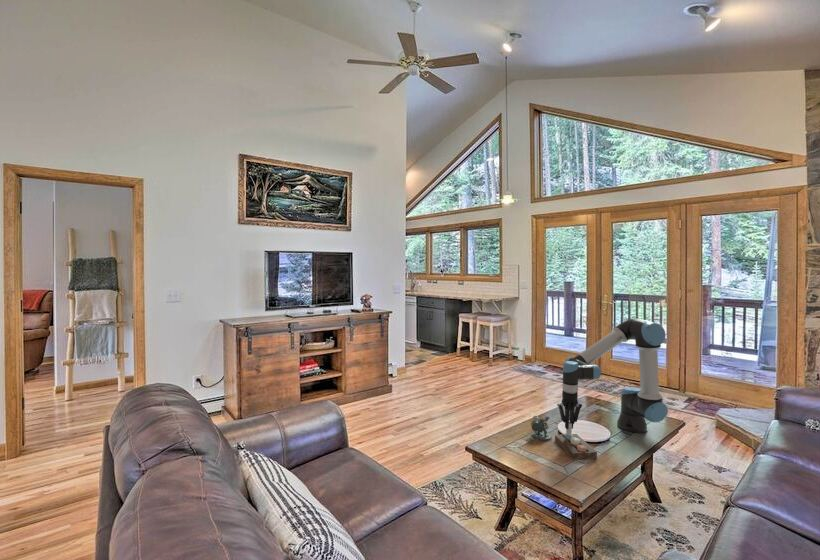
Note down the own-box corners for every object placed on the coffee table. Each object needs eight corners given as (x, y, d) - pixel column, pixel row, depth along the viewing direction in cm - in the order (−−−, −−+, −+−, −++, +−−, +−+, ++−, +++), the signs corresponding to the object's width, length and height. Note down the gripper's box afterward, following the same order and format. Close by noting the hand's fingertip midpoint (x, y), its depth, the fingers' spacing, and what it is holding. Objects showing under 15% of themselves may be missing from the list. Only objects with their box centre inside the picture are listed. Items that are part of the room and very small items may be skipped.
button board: (576, 440, 217) (576, 433, 217) (596, 459, 197) (597, 452, 197) (554, 441, 216) (555, 434, 216) (573, 460, 196) (573, 453, 196)
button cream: (576, 442, 209) (577, 437, 209) (581, 446, 204) (581, 441, 204) (568, 443, 208) (569, 437, 208) (573, 447, 204) (573, 441, 204)
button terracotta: (583, 450, 202) (583, 444, 202) (588, 454, 198) (588, 448, 198) (575, 450, 202) (575, 444, 202) (579, 455, 198) (579, 449, 197)
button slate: (570, 438, 215) (570, 433, 215) (574, 442, 211) (575, 436, 211) (562, 438, 215) (563, 433, 215) (566, 442, 211) (567, 437, 210)
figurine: (552, 441, 215) (553, 420, 214) (532, 440, 217) (532, 418, 217) (550, 433, 226) (550, 412, 225) (530, 431, 228) (530, 411, 227)
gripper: (578, 388, 215) (577, 431, 217) (554, 389, 214) (553, 432, 216) (585, 393, 208) (584, 437, 210) (561, 394, 207) (560, 438, 208)
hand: (568, 434), depth 213 cm, fingers closed
